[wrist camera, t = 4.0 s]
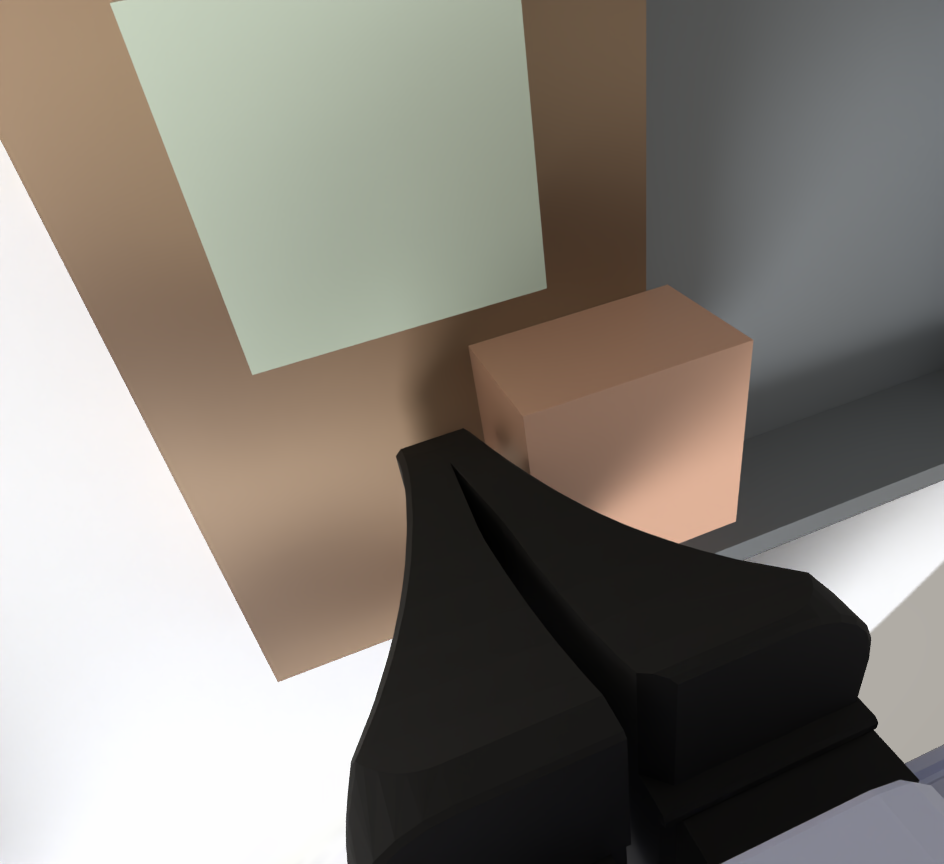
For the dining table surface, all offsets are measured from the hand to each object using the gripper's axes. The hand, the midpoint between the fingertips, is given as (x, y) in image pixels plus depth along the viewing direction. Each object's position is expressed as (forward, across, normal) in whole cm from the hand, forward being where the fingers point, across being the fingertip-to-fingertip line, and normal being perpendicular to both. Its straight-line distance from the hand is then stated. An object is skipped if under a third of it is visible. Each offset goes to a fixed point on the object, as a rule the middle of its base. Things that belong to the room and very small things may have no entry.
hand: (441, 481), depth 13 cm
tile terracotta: (+1, -3, 0) cm, 3 cm away
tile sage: (+1, 0, -6) cm, 6 cm away
